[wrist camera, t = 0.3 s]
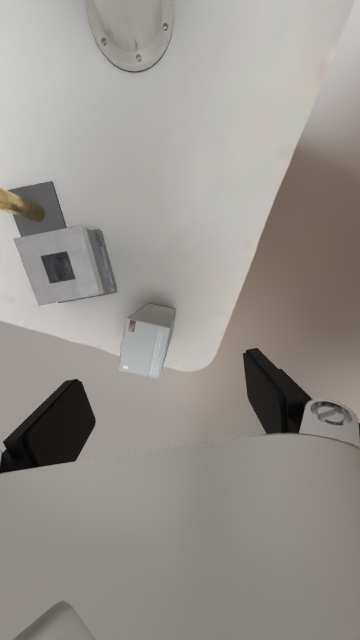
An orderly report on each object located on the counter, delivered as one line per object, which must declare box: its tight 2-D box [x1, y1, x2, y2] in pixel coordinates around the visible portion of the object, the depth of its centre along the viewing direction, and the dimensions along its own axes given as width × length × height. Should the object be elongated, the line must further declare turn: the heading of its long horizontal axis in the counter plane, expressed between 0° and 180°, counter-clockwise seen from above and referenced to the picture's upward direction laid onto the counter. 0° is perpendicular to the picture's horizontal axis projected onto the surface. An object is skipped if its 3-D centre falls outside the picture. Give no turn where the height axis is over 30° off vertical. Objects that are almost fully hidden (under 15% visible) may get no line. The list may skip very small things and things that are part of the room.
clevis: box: [14, 226, 117, 306], centre depth 35 cm, size 12×12×8 cm
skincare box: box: [118, 304, 176, 379], centre depth 34 cm, size 8×7×16 cm
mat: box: [7, 181, 66, 237], centre depth 35 cm, size 9×9×1 cm
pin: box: [0, 188, 45, 222], centre depth 29 cm, size 3×3×12 cm
